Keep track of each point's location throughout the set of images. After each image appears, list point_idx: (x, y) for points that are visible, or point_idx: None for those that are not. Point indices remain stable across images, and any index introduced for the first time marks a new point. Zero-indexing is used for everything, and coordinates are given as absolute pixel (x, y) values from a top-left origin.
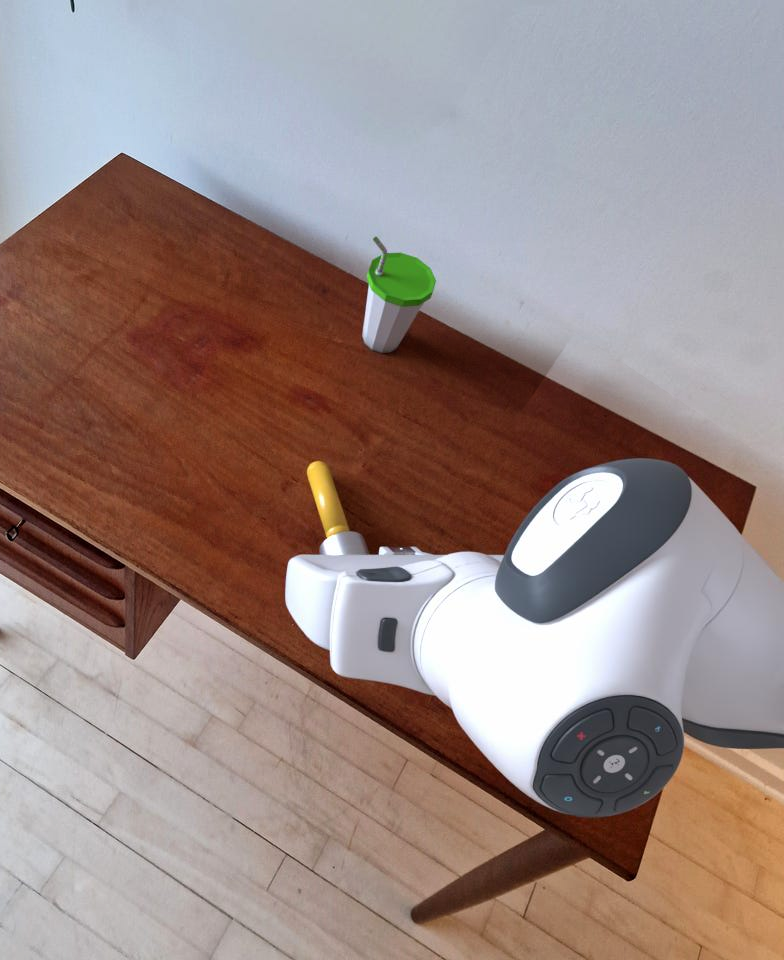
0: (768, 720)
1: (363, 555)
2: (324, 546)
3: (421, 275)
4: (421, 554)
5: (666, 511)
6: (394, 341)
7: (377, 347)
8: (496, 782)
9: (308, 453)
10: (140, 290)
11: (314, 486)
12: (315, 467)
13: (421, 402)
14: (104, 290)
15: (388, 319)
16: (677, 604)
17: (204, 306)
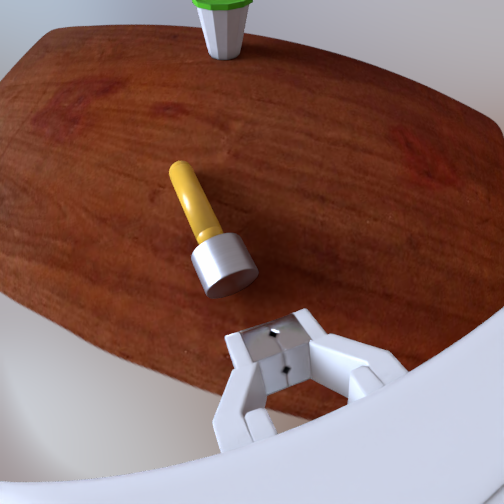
0: None
1: (130, 492)
2: (194, 259)
3: None
4: (327, 349)
5: None
6: (234, 46)
7: (222, 56)
8: None
9: (172, 156)
10: (43, 87)
11: (176, 189)
12: (174, 168)
13: (271, 86)
14: (22, 99)
15: (221, 27)
16: None
17: (84, 77)
